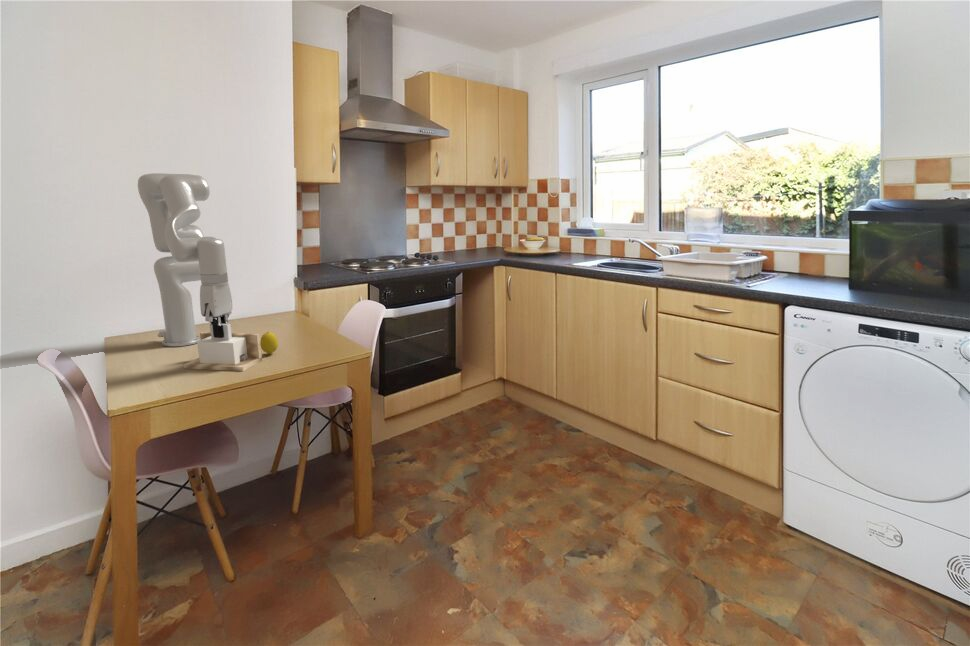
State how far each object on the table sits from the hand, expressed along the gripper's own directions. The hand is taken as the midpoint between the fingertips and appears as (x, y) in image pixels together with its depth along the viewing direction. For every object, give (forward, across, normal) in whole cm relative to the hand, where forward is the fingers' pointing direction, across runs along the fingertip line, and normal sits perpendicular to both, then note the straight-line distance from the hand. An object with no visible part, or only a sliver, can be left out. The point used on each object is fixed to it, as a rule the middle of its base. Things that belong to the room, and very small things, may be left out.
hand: (221, 336), depth 173 cm
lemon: (+10, -12, +9) cm, 18 cm away
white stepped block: (+8, 0, 0) cm, 8 cm away
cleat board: (+9, 0, 0) cm, 9 cm away
